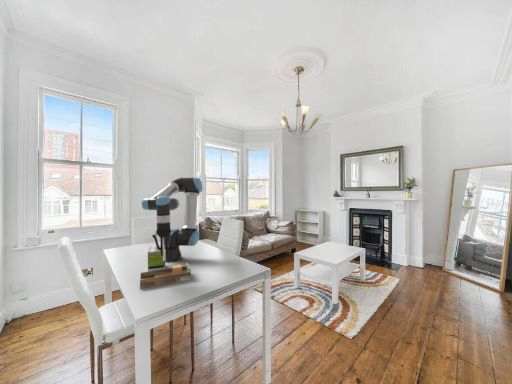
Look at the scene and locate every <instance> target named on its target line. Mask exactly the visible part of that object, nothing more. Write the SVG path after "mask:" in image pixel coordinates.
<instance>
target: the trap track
mask: <svg viewBox="0 0 512 384" xmlns="http://www.w3.org/2000/svg"><path fill="white" fill-rule="evenodd" d="M181 267H182V273H178V274H173V273H172V267H169V268H165V269H162V270H155V271H149V272H148V271H144V272H140V279H139V289H144V288H150V287H157V286H161V285H168V284H172V283H177V282H178V283H179V282H185V281H188V280H191V276H192V275H191V274H192V273H191V271H192V270H191V267H190V265H189V263H188V262H185V265H183V266H182V265H181Z"/></svg>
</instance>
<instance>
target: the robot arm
mask: <svg viewBox="0 0 512 384" xmlns="http://www.w3.org/2000/svg"><path fill="white" fill-rule="evenodd" d="M202 192H203V182H202V180H201V179H200V178H199V177H179V178H177V179H174V180H172V181H170V182H168V184H167V185H166V187H164V188H162V189H161V190H160V191H159V192H157V193H156V194H154V195H153V196H151V197H150V198H147V197H146V198H143V200H142V201H141V208H142V209H143V210H144V211H156V222H157V223H156V231H155V233H152V235H151V237H153V239H154V242H155V246H157V249H158V250H160V251H161V256H163V261H165V263H166V262H176V261H179V260H181V259H182V257H183V256H182V252H181V249H180V246H181V247H182V246H184V247H185V246H187V247H194V246H196V245H197V244H198V242H199V238H200V231H199V230H198V228H197V226H196V221H197V220H196V219H197V205H198V197H199V196H200V193H202ZM177 193H184V195H185V204H184V205H185V208H184V216H183V217H184V221H183V226H182V227H181V230H180V228H179V227H175V228H171V222H170V221H171V211H174V210H176V209H178V208H179V207H180V200H179V199H178V198H176V197H175V198H174V197H172V196H173V195H175V194H177ZM157 236H158V237H159V238H160V239H159V241H160V245H159V242H158V238H157ZM163 245H165V249H163ZM159 246H161V248H160V247H159Z"/></svg>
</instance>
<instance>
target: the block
mask: <svg viewBox="0 0 512 384" xmlns="http://www.w3.org/2000/svg"><path fill="white" fill-rule="evenodd" d="M171 268H172V273H173V274H178V273H182V265H181V264H176V265H175V264H174V265H172V267H171Z"/></svg>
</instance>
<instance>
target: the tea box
mask: <svg viewBox="0 0 512 384" xmlns="http://www.w3.org/2000/svg"><path fill="white" fill-rule="evenodd" d="M159 247H160V248H161V245H159ZM163 249H165V245H163ZM162 269H166V261H163V256H161V251H160V250H158V249H157V246H156V245H153V246H149V249H148V252H147V272H149V271H155V270H162Z"/></svg>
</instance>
